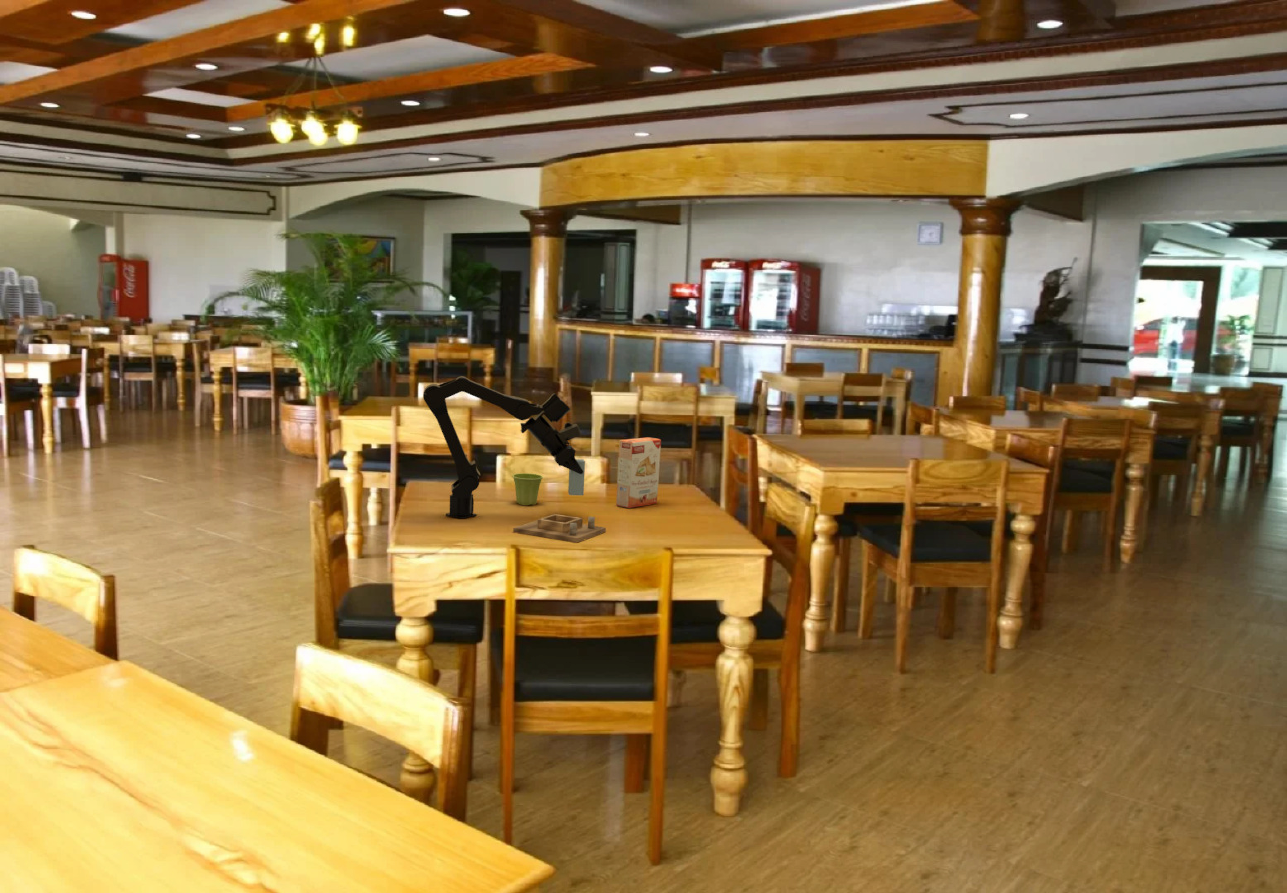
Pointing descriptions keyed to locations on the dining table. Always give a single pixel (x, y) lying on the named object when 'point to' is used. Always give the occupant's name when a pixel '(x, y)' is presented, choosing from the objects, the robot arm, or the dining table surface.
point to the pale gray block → (576, 480)
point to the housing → (561, 528)
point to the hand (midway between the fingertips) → (581, 471)
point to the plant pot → (527, 487)
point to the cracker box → (638, 472)
